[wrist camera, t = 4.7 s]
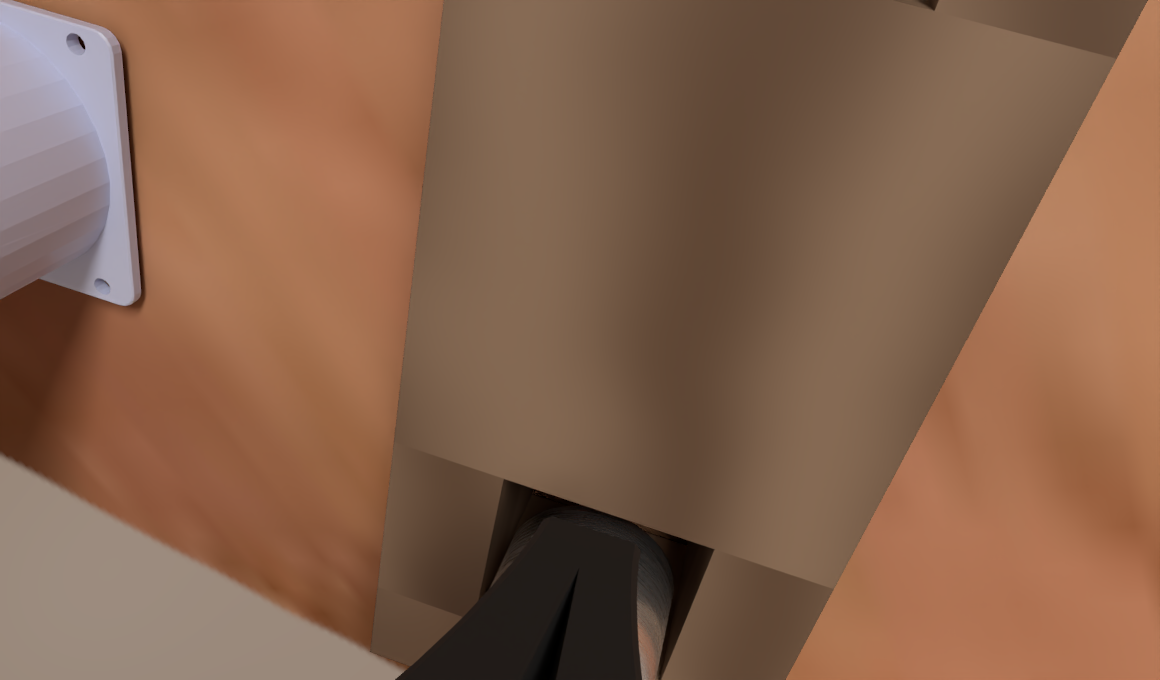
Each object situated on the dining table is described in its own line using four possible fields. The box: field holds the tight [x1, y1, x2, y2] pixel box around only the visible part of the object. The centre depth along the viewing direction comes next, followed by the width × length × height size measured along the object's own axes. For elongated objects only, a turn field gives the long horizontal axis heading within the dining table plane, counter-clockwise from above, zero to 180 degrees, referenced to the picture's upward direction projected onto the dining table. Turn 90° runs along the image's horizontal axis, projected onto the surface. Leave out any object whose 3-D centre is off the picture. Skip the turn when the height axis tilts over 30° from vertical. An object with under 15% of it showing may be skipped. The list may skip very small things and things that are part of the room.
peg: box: [490, 506, 674, 680], centre depth 18 cm, size 4×4×4 cm
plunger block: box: [370, 0, 1148, 680], centre depth 18 cm, size 10×26×5 cm, turn 168°
